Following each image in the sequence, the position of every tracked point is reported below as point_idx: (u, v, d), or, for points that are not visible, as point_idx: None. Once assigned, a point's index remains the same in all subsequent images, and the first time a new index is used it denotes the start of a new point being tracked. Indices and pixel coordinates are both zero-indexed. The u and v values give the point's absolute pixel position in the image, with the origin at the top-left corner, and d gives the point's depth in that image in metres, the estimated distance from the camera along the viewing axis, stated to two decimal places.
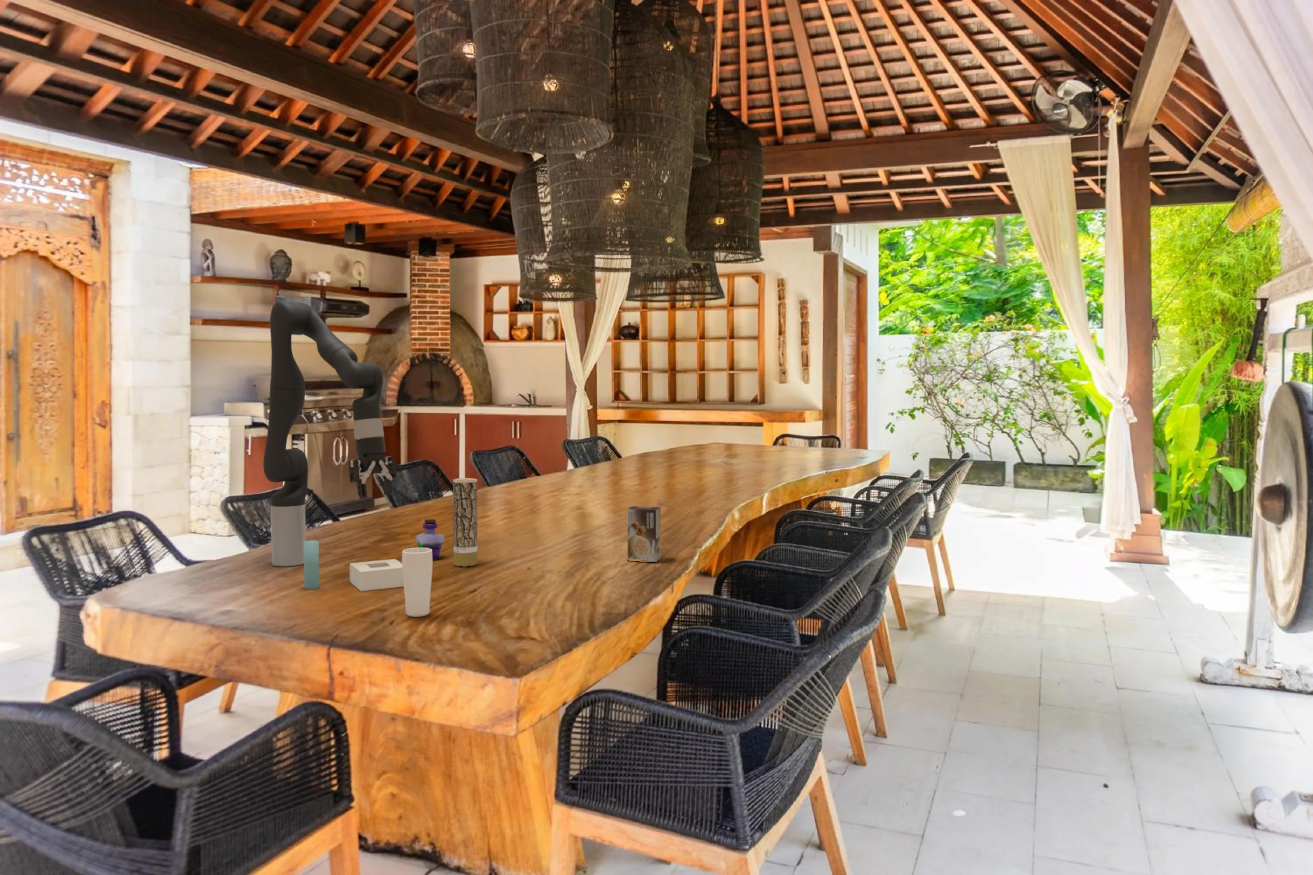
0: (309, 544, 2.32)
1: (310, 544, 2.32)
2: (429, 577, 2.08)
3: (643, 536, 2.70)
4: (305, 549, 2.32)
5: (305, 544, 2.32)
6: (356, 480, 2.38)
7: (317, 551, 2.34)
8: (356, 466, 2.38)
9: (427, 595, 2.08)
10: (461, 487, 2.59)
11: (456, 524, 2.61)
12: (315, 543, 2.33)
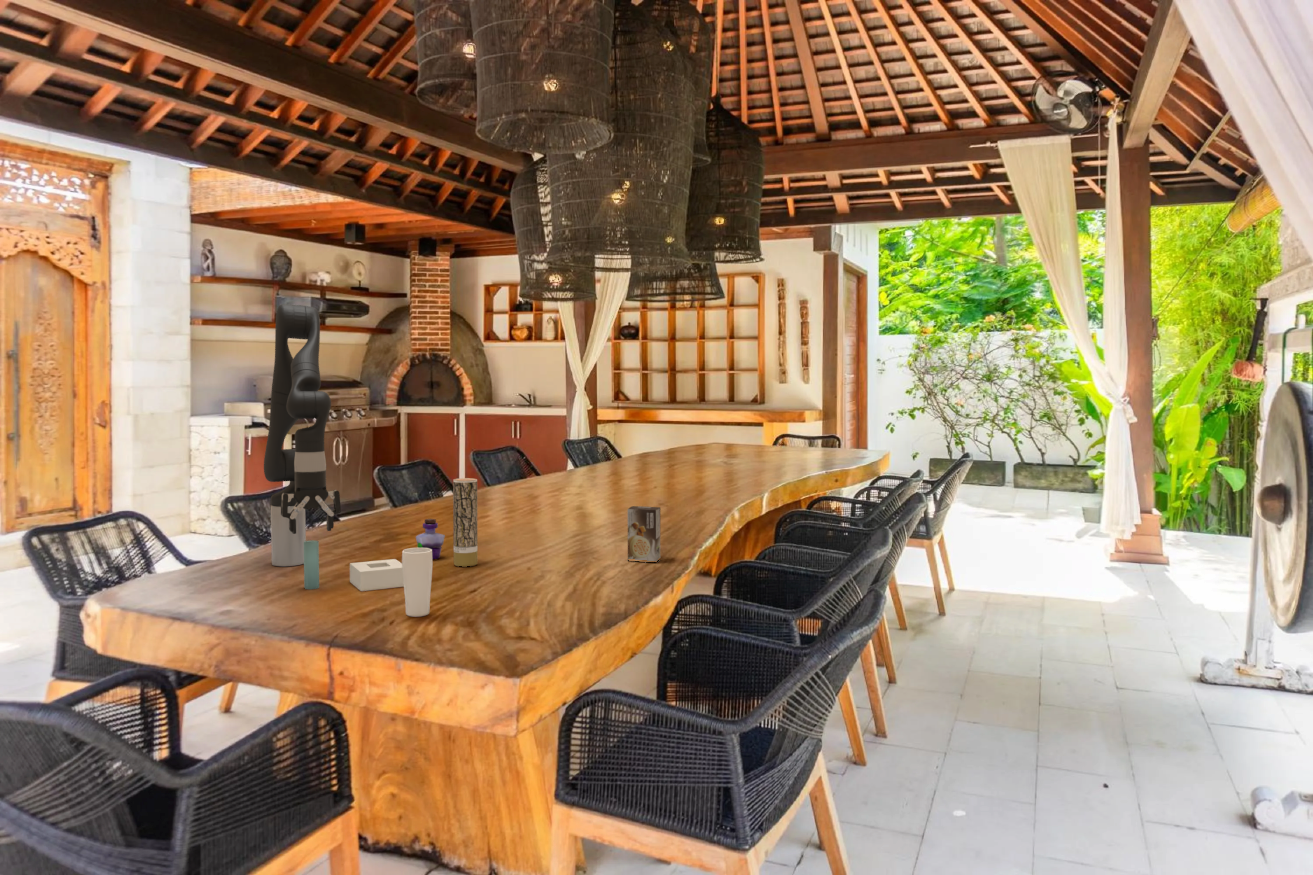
0: (309, 544, 2.32)
1: (310, 544, 2.32)
2: (429, 577, 2.08)
3: (643, 536, 2.70)
4: (305, 549, 2.32)
5: (305, 544, 2.32)
6: (283, 515, 2.29)
7: (317, 551, 2.34)
8: (284, 501, 2.29)
9: (427, 595, 2.08)
10: (461, 487, 2.59)
11: (456, 524, 2.61)
12: (315, 543, 2.33)
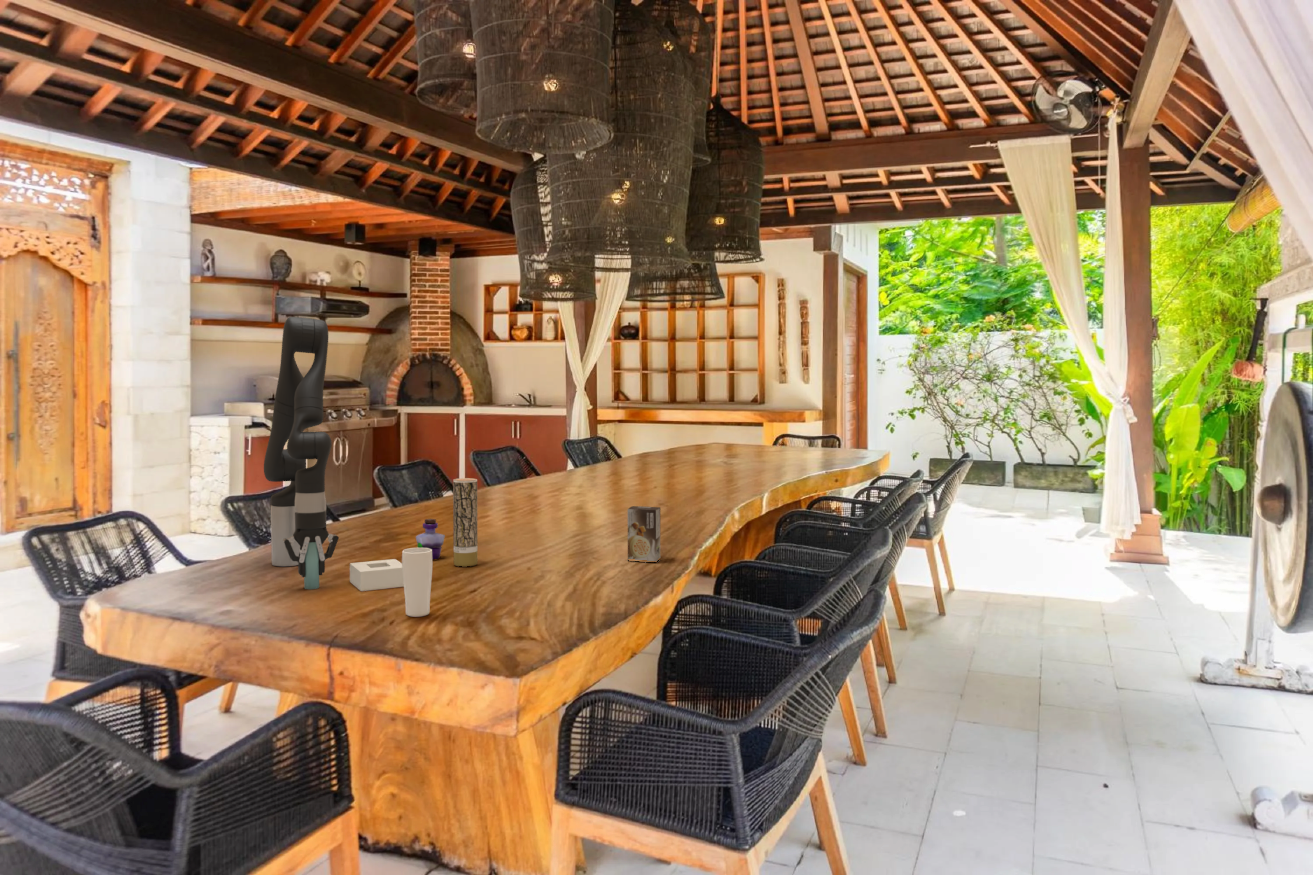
0: (309, 544, 2.32)
1: (310, 544, 2.32)
2: (429, 577, 2.08)
3: (643, 536, 2.70)
4: None
5: None
6: (292, 559, 2.31)
7: (317, 551, 2.34)
8: (288, 546, 2.30)
9: (427, 595, 2.08)
10: (461, 487, 2.59)
11: (456, 524, 2.61)
12: (315, 543, 2.33)
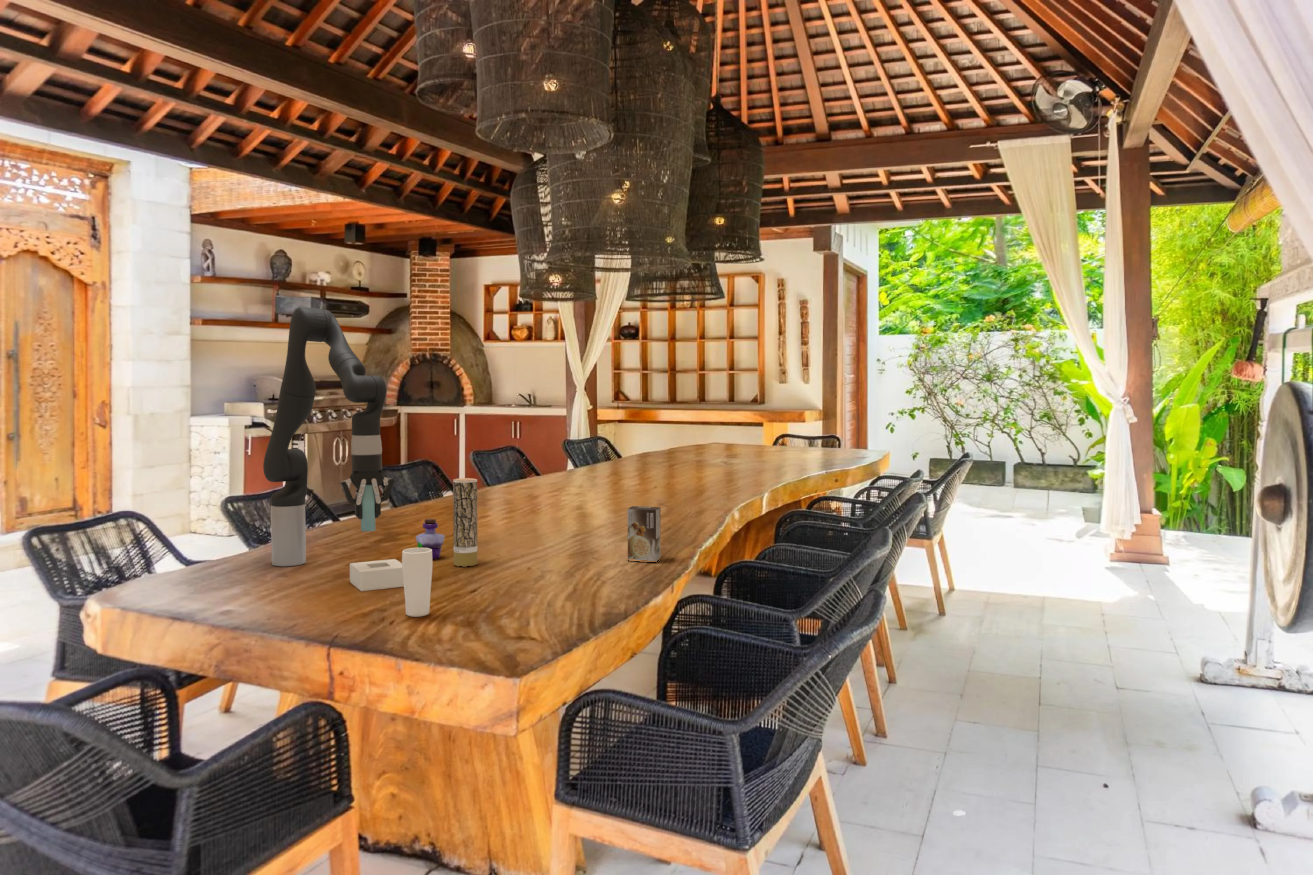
0: (365, 487, 2.35)
1: (366, 486, 2.35)
2: (429, 577, 2.08)
3: (643, 536, 2.70)
4: None
5: None
6: (349, 501, 2.33)
7: (373, 494, 2.36)
8: (345, 488, 2.33)
9: (427, 595, 2.08)
10: (461, 487, 2.59)
11: (456, 524, 2.61)
12: (371, 486, 2.35)
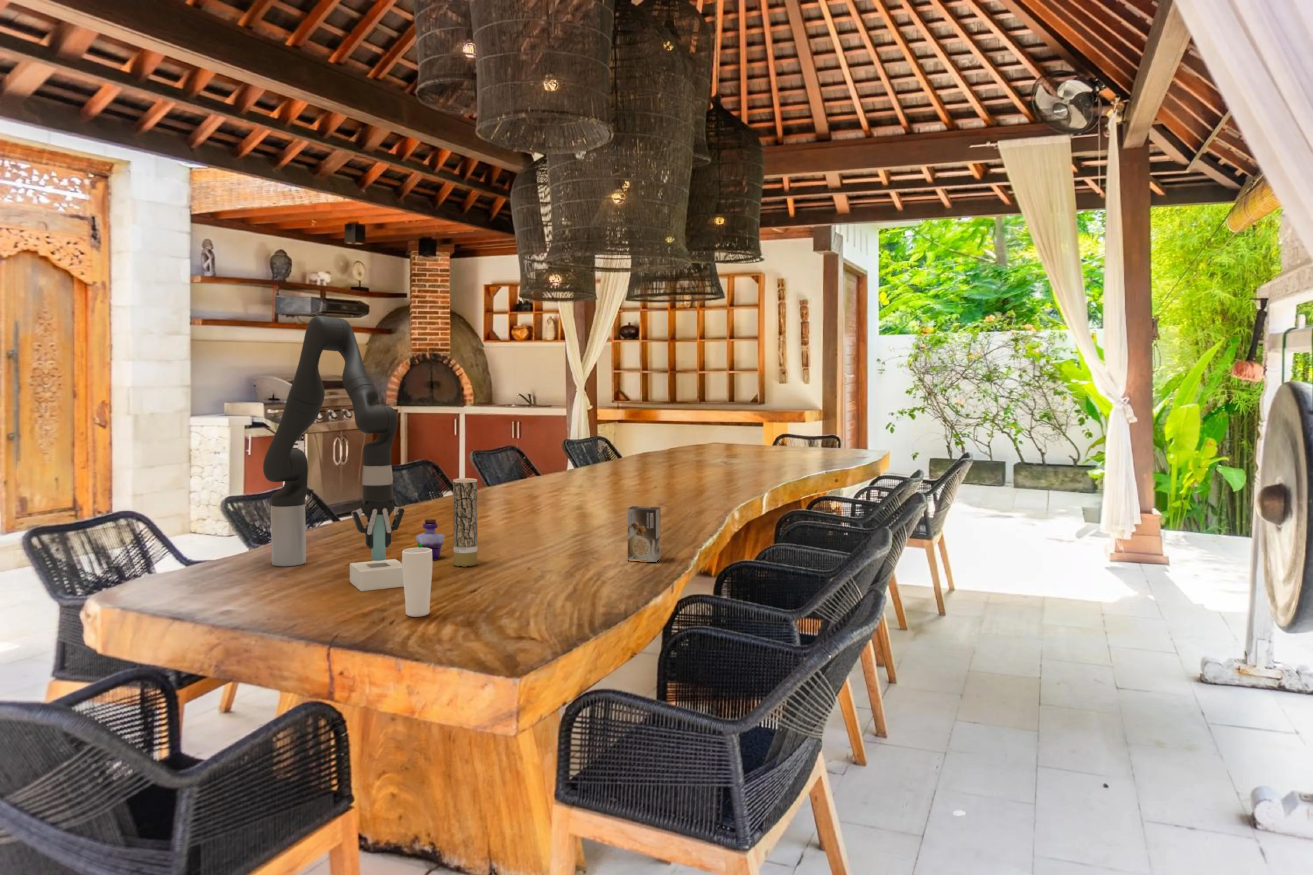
0: (376, 517, 2.37)
1: (378, 516, 2.37)
2: (429, 577, 2.08)
3: (643, 536, 2.70)
4: None
5: None
6: (360, 531, 2.35)
7: (384, 523, 2.38)
8: (356, 518, 2.34)
9: (427, 595, 2.08)
10: (461, 487, 2.59)
11: (456, 524, 2.61)
12: (382, 515, 2.37)
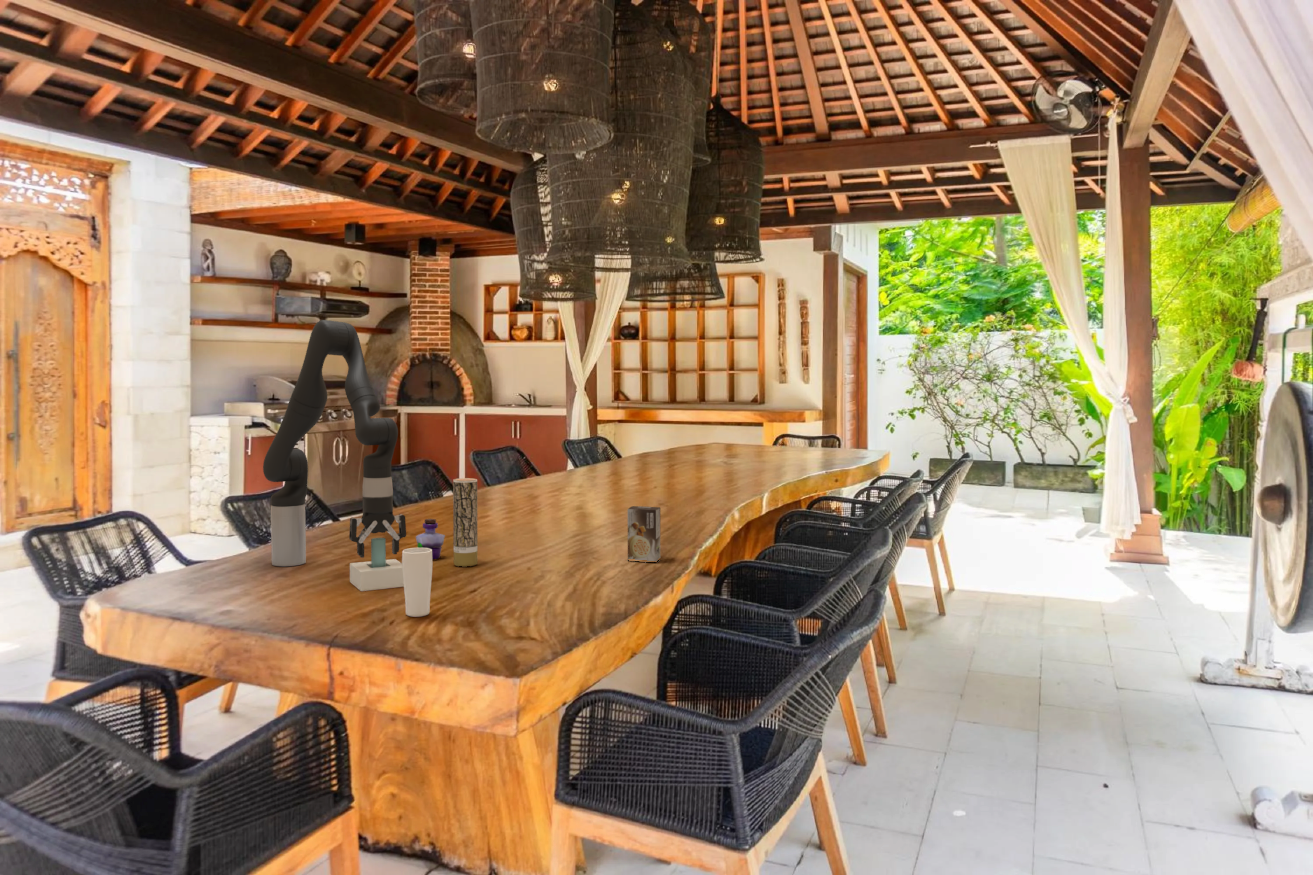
0: (376, 541, 2.37)
1: (378, 541, 2.37)
2: (429, 577, 2.08)
3: (643, 536, 2.70)
4: (373, 546, 2.37)
5: (373, 541, 2.37)
6: (352, 539, 2.34)
7: (384, 548, 2.39)
8: (353, 525, 2.34)
9: (427, 595, 2.08)
10: (461, 487, 2.59)
11: (456, 524, 2.61)
12: (382, 540, 2.38)
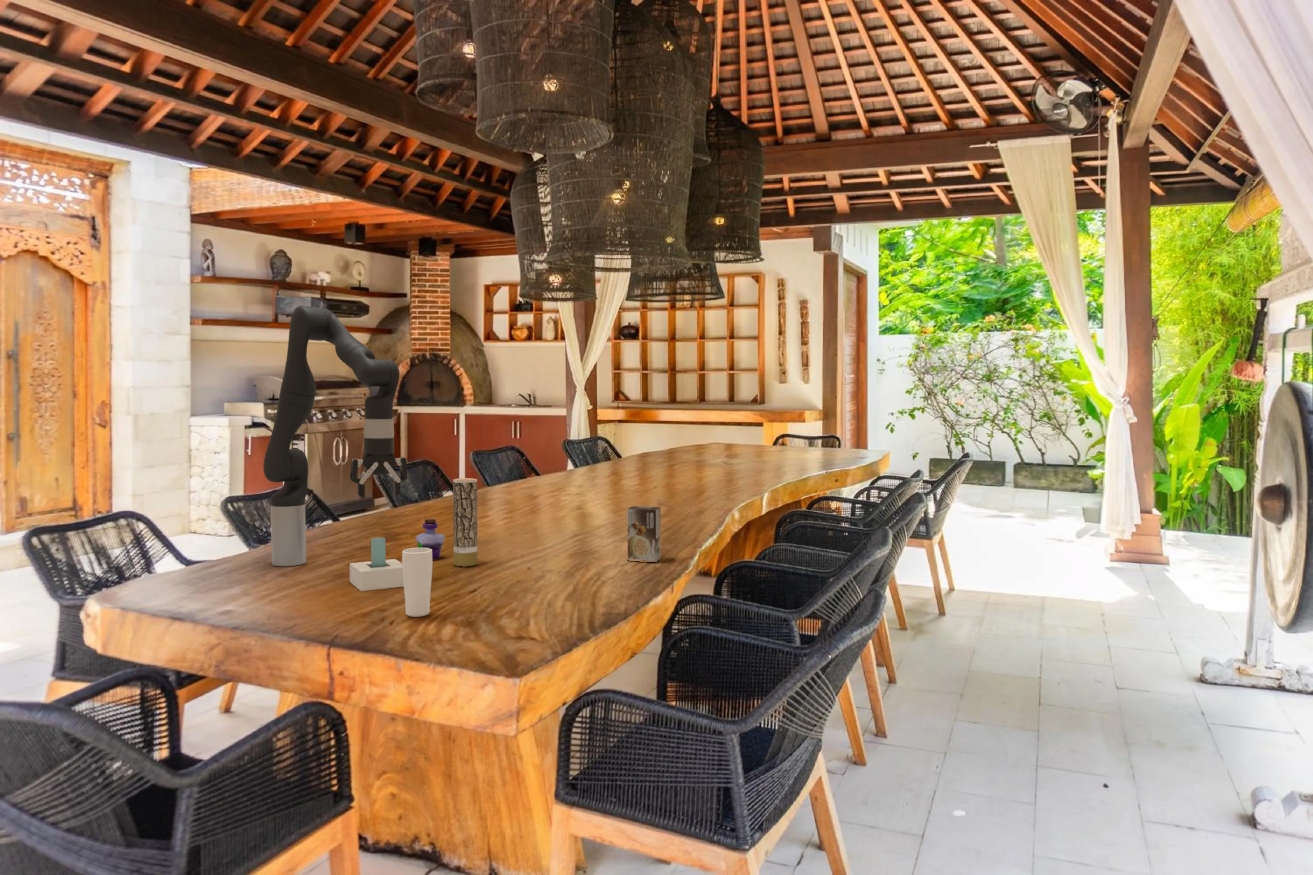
0: (376, 541, 2.37)
1: (378, 541, 2.37)
2: (429, 577, 2.08)
3: (643, 536, 2.70)
4: (373, 546, 2.37)
5: (373, 541, 2.37)
6: (352, 480, 2.35)
7: (384, 548, 2.39)
8: (354, 466, 2.34)
9: (427, 595, 2.08)
10: (461, 487, 2.59)
11: (456, 524, 2.61)
12: (382, 540, 2.38)
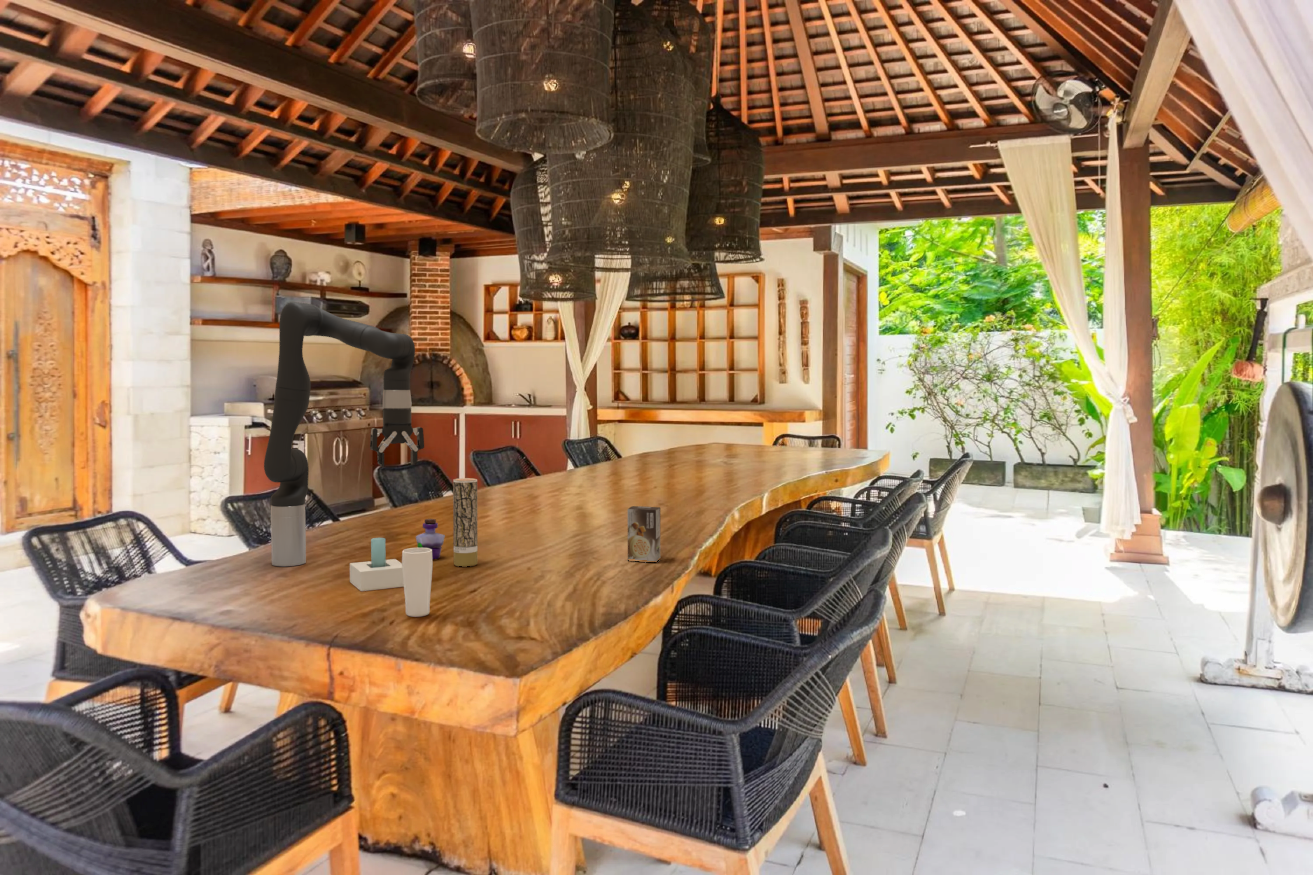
0: (376, 542, 2.37)
1: (378, 541, 2.37)
2: (429, 577, 2.08)
3: (643, 536, 2.70)
4: (373, 546, 2.37)
5: (373, 541, 2.37)
6: (372, 448, 2.45)
7: (384, 548, 2.39)
8: (374, 435, 2.45)
9: (427, 595, 2.08)
10: (461, 487, 2.59)
11: (456, 524, 2.61)
12: (382, 540, 2.38)
